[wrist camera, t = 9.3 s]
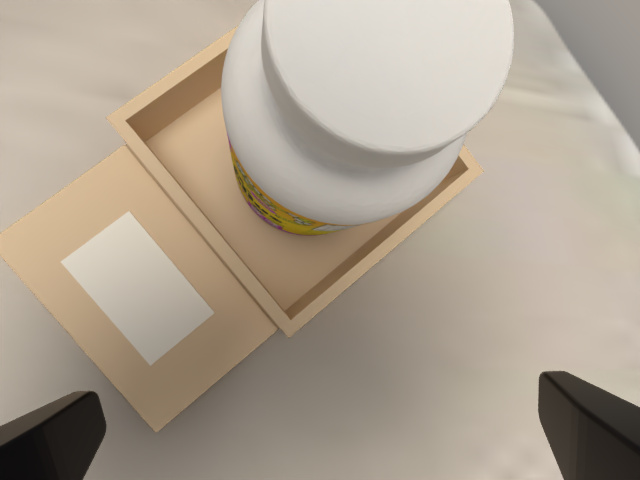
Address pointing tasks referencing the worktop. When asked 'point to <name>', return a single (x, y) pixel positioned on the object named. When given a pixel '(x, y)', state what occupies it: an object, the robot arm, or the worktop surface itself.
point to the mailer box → (186, 249)
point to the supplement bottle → (357, 103)
